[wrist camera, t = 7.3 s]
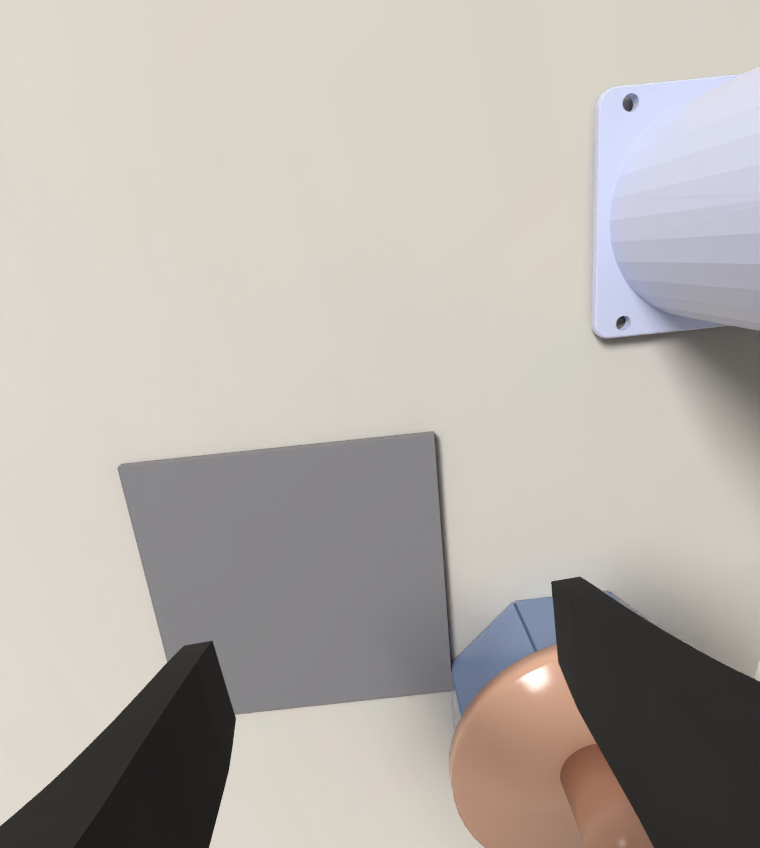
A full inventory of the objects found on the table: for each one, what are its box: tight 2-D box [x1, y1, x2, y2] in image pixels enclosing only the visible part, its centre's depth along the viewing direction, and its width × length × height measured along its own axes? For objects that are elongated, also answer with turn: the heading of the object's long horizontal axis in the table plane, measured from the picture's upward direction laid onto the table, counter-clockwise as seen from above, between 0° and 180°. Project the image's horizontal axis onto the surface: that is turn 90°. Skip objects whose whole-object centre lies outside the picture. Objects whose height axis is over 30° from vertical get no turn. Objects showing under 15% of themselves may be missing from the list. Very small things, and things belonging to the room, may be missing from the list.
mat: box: [118, 431, 453, 714], centre depth 23 cm, size 12×12×1 cm
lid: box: [449, 644, 654, 848], centre depth 19 cm, size 11×11×5 cm
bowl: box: [451, 591, 645, 730], centre depth 23 cm, size 10×10×4 cm
